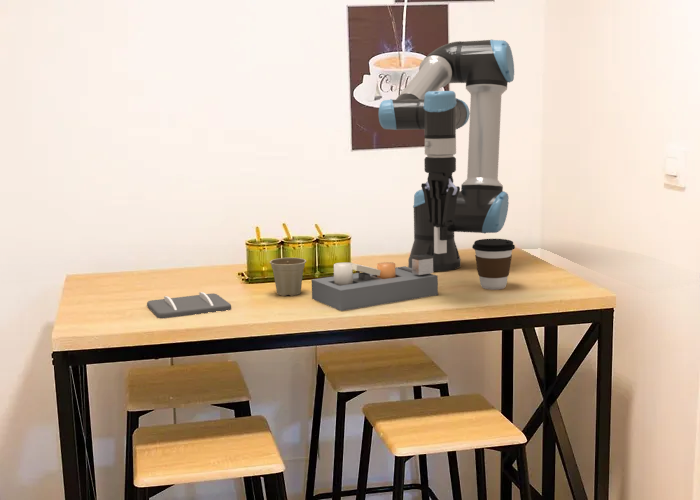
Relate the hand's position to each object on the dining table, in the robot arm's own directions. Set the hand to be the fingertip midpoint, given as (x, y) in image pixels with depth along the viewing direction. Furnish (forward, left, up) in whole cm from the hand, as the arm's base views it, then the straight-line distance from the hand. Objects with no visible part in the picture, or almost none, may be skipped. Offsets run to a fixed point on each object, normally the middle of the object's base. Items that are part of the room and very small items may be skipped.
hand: (440, 252), depth 224 cm
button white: (-13, -20, -9) cm, 25 cm away
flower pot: (-29, -27, -12) cm, 42 cm away
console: (-13, -11, -12) cm, 21 cm away
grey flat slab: (-30, -54, -13) cm, 63 cm away
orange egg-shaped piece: (-13, -8, -10) cm, 18 cm away
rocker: (-13, -14, -4) cm, 20 cm away
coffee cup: (-4, +20, -12) cm, 24 cm away
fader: (-8, 0, -7) cm, 10 cm away
